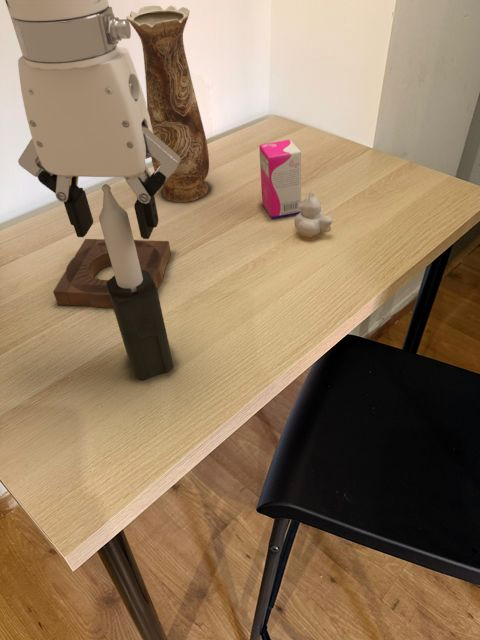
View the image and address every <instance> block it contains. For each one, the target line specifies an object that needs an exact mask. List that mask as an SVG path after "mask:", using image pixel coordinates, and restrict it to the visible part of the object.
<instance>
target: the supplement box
mask: <svg viewBox="0 0 480 640" xmlns="http://www.w3.org/2000/svg"><path fill="white" fill-rule="evenodd" d="M258 146H259V166H260V181H261V182H260V184H261V187H260V188H261V204H262V207H263V208H264V210H265V212H266V213H267V215H268V216H269V218H270V220H272V221H273V220H277V219H282V218H287V217H293V216H297V215H298V214H299V213H300V212H301V211H300V209H301V208H300V207H299V205H300V204H301V203H302V151H301V150H300V148H298V147H297V146H296V145H295V143H293V141H292V140H291V139H284V140H281V141H274V142H268V143H262V144H259V145H258Z"/></svg>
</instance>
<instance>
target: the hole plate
mask: <svg viewBox="0 0 480 640" xmlns="http://www.w3.org/2000/svg"><path fill="white" fill-rule="evenodd" d="M134 243H135V247H136V251H137V256H138V260H139V264H140V268H141V270H145V271H148V272H149V273H150V275H151V277H152V279H153V281H154V283H155V285H156V287H157V290H158V289H159V286H160V285H161V284H162V282H163V281H164V280H163V279H164V276H165V271H166V268H167V265H168V263H169V260H170V258H171V255H172V252H171V245H170V240H147V239H142V240H139V239H134ZM108 267H112V264H111V260H110V257H109V253H108V250H107V246H106V242H105V239H103V238H85V239H84V240H83V242H82V243H81V245H80V246H79V248H78V250H77V251H76V253H75V255H74V256H73V258H72V259H71V260H70V261H69V262H68V264H67V266H66V268H65V271H64V273H63V275H62V276H61V278H60V280H59V281H58V283H57V284H56V286H55V288H54V289H53V291H52V293H53V295H54V299H55V300H56V304H57V305H58V306H79V307H93V308H102V309H109V308H110V309H111V308H113V305H112V302H111V299H110V295H109V292H108V289H107V281H108V280H109V279H99V278H97V277H96V276H97V274H98V273H99V272H100V271H102V270H104V269H106V268H108Z"/></svg>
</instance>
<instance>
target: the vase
mask: <svg viewBox="0 0 480 640" xmlns="http://www.w3.org/2000/svg"><path fill="white" fill-rule="evenodd" d="M189 16H190V10H189V8H188V7H184V6H182V7H180V8H179V9H177V8H176V6H174V5H169V6H167V8H165V9H163V7H162V6H161V5H146V6H143V7H140V8H139V10H138V13H137V12H135V11H130V14H129V15H127V16H125V17H126V18H125V19H127V20H128V21H129V24H130V26H132V28H133V29H134V31H135V32H136V33H137V36H138V37H139V40H140V43H141V46H142V53H143V63H144V65H143V67H144V74H145V76H144V77H145V92H146V106H147V109H148V113H149V117H150V121H151V125H152V129H153V134H155V135H156V136H157V137H158V138H159V139H160V140H161V141H163V142H164V143H165V144H166V145H167V146H168V147H169V148H171V149H172V150H173V151H174V152H175V153H176V154H177V155H179V157H180V158H181V162H180V164H179V166H178V168H177V169H176V171H175V172H174V173H173V174H172V175H171V176H170V177H169V179H167V180H166V182H165V183H164V184H163V188H162V195H163V197H164V198H165V199H166V200H169V201H171V202H174V203H175V202H176V203H188V202H192V201H196V200H198V199H200V198H202V197H204V196H205V195H206V194H207V193H208V191H209V186H208V184H207V182H206V181H205V180H206V179H207V177H208V175H209V172H210V155H209V147H208V142H207V141H208V140H207V137H206V133H205V132H206V131H205V129H204V123H203V121H202V115H201V112H200V109H199V104H198V100H197V97H196V91H195V88H194V84H193V80H192V76H191V71H190V67H189V63H188V60H187V59H188V58H187V55H186V51H185V50H186V49H185V44H184V31H185V27H186V25H187V22H188V19H189ZM150 159H151V163H152V168H153V171H155V170H156V169H157V168H158V167H159V166H160V163H159V162H158V161H157V160H156V159H155V158H154V157H153V156H152V157H150Z"/></svg>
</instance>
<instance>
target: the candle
mask: <svg viewBox="0 0 480 640" xmlns="http://www.w3.org/2000/svg"><path fill="white" fill-rule="evenodd" d="M101 190H102V192H103V197H102V198H103V199H102V209H101V210H100V213H99V216H98V221H99V224H100V228H101V231H102V235H103V238H104V239H105V242H106V246H107V250H108V253H109V257H110V260H111V264H112V265H111V268H112V272H113V275H112V277H111V278H109V279H107V280H108V281H107V289H108V292H109V295H110V299H111V302H112V305H113V307H112V309H113V312H114V315H115V318H116V322H117V325H118V329H119V333H120V335H121V338H122V339H121V340H122V342H123V346H124V349H125V352H126V355H127V356H126V357H127V358H128V362H129V365H130V367H131V370H132V373H133V375H134V378H135V379H136V380H139V381H147V380H148V379H150V378H153V377H155V376H156V377H157V376H158V375H162V374H164V373H165V374H167V373H169V372H171V371H172V370H173V369H174V362H173V357H172V352H171V347H170V343H169V338H168V333H167V329H166V323H165V320H164V315H163V311H162V305H161V302H160V297H159V292H158V289H157V287H156V285H155V283H154V281H153V279H152V277H151V275H150V273H149V272H148V271H145V270H141V268H140V264H139V260H138V256H137V251H136V247H135V243H134V240H135V239H134V234H133V231H132V228H131V222H130V218H129V214H128V212H127V211H126V209H124V208H123V207H122V206H121V205H119V202H118V201H117V200H116V198H115V197H114V194H113V193H112V191H111V190H112V189H111V186H110V185H109V184H107V183H105V184H103V185H102V186H101Z"/></svg>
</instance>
